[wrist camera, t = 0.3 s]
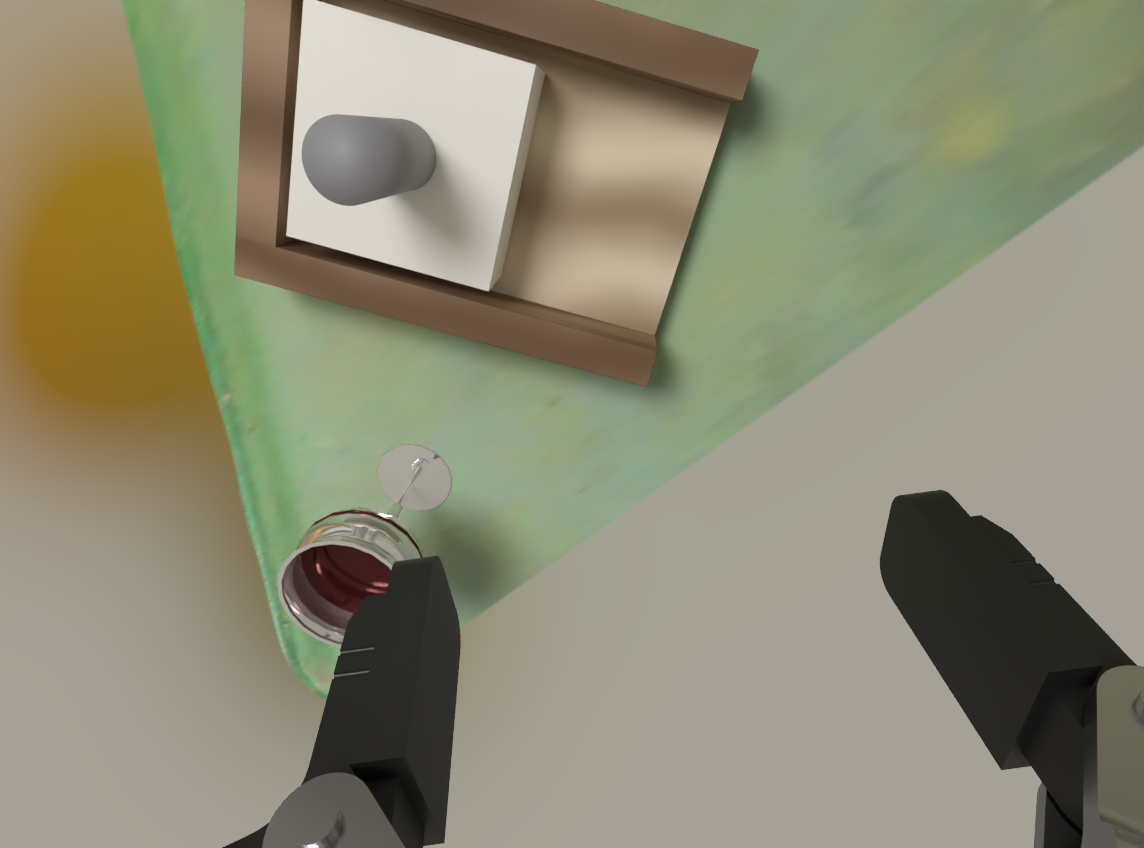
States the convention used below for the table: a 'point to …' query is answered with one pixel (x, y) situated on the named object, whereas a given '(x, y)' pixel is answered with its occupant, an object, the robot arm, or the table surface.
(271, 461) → the table surface
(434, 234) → the lane block
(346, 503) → the table surface
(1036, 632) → the robot arm
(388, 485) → the wineglass
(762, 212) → the table surface
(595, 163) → the shelf
